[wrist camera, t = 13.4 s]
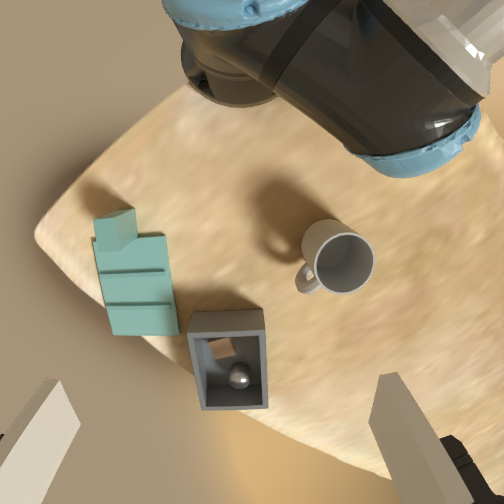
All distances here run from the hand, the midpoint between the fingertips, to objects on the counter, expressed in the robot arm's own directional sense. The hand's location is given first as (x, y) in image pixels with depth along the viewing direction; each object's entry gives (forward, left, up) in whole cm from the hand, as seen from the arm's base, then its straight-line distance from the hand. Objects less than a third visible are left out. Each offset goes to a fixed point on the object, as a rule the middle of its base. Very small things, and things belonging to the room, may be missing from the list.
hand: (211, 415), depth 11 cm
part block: (+15, -3, -31) cm, 34 cm away
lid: (+5, -15, -32) cm, 35 cm away
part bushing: (+21, -1, -31) cm, 37 cm away
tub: (+18, -2, -32) cm, 36 cm away
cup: (+3, +11, -32) cm, 34 cm away
